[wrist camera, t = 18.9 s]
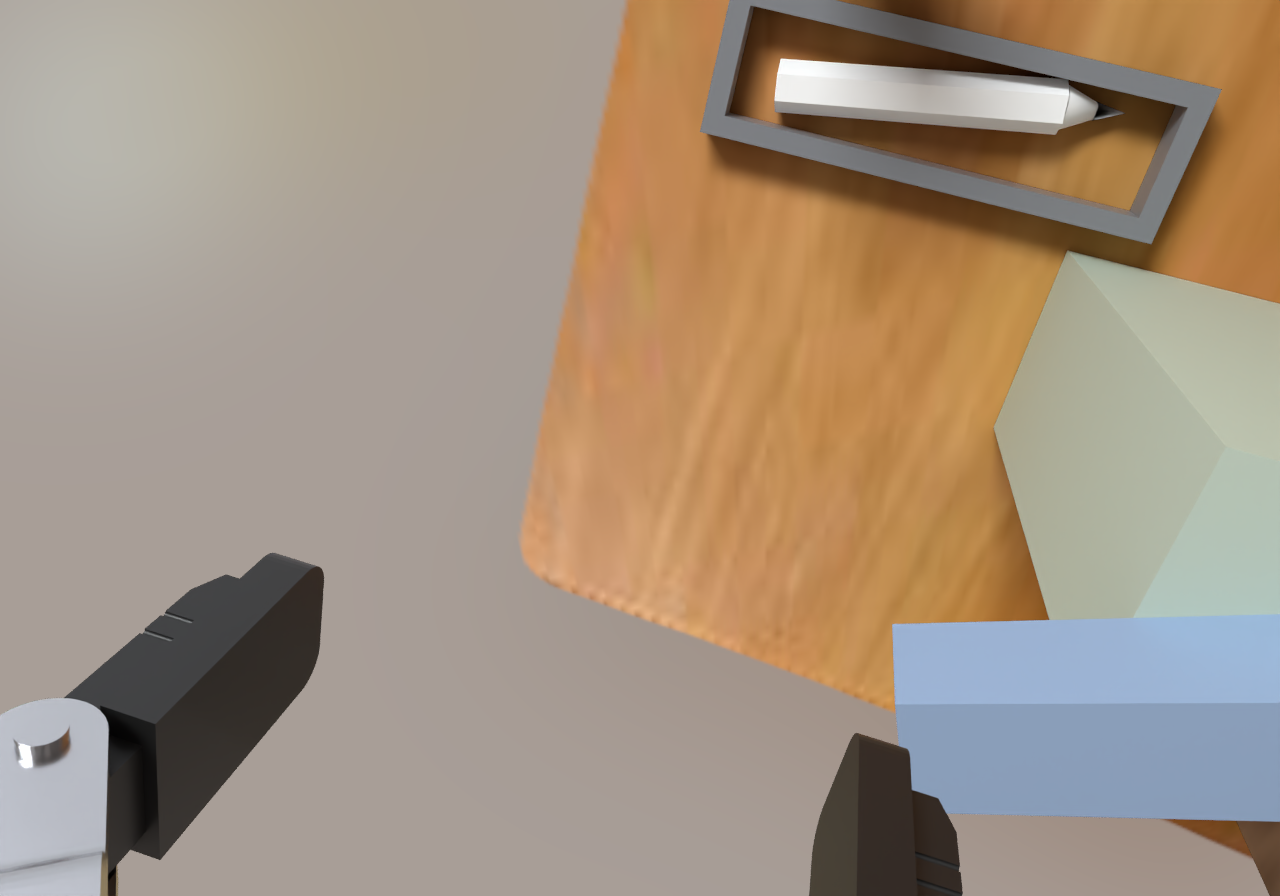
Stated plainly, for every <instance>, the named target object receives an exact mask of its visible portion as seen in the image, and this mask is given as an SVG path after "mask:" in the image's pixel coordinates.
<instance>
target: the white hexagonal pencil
mask: <svg viewBox="0 0 1280 896" xmlns="http://www.w3.org/2000/svg"><path fill="white" fill-rule="evenodd" d="M774 102H775V112H782V113H794V114H806V115H818V116H831V117H843V118H855V119H868V120H880V121H892V122H904V123H917V124H929V125H941V126H954V127H966V128H978V129H990V130H1003V131H1015V132H1027V133H1039V134H1052V135H1056V133H1057V132H1058V130H1060V129H1063V128H1066V127H1070V126H1073V125H1076V124H1080V123H1083V122H1087V121H1090V120H1092V121H1093V120H1097V119H1102V118H1106V117H1111V116H1115V115H1120V114H1124V113H1123V112H1121V111H1118V110H1116V109H1114V108H1111V107H1109V106H1106V105H1104V104H1101V103H1099V102H1096V101H1094V100H1093V99H1091V98H1089V97H1088V96H1086V95H1085V94H1083V93H1081V92H1080V91H1078V90H1076V89H1075V88H1073V87H1072V86H1070V85H1069V82H1068V79H1057V78H1043V77H1029V76H1015V75H1001V74H987V73H973V72H959V71H945V70H932V69H918V68H904V67H890V66H876V65H862V64H848V63H834V62H820V61H806V60H792V59H781V60H780V65H779V69H778V73H777V82H776V91H775V101H774Z"/></svg>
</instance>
